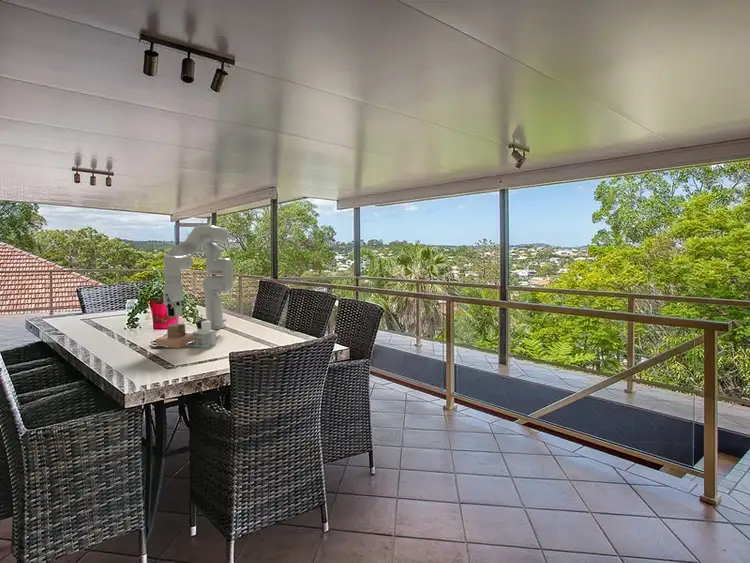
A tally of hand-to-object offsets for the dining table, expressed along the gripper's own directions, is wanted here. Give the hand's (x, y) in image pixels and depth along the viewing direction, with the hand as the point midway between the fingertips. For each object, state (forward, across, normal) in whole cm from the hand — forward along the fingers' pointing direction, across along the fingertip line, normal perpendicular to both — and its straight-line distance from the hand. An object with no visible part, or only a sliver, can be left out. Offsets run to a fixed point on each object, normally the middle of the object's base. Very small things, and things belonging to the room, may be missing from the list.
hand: (175, 314), depth 227 cm
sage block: (+1, 0, 0) cm, 1 cm away
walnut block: (+12, 0, 0) cm, 12 cm away
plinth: (+16, 0, 0) cm, 16 cm away
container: (+16, 0, +17) cm, 23 cm away
